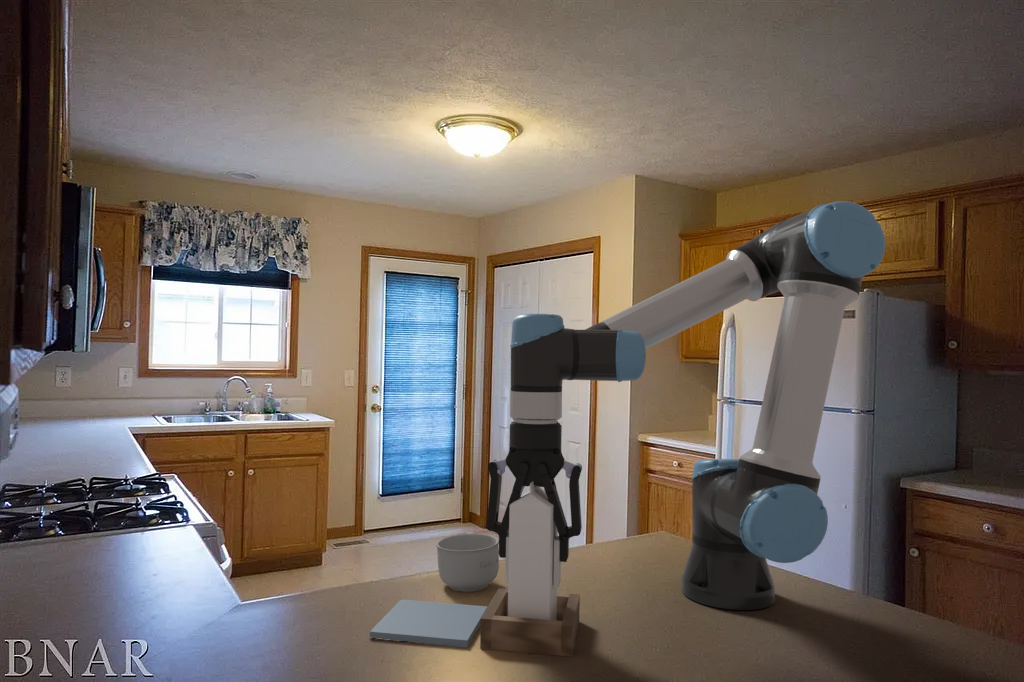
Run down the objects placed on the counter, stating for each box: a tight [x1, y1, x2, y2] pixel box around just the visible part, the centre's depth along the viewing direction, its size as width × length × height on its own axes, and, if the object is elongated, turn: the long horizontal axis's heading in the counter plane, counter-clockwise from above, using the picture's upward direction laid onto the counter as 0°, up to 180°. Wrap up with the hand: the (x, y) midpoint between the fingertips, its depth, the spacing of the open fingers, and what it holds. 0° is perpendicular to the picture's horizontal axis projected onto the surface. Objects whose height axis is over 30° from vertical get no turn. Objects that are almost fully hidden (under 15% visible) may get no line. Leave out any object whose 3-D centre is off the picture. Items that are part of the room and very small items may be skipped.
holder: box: [479, 588, 581, 658], centre depth 97 cm, size 12×12×4 cm
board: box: [369, 599, 488, 649], centre depth 100 cm, size 14×13×1 cm
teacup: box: [435, 531, 500, 593], centre depth 119 cm, size 14×11×8 cm
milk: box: [507, 481, 559, 621], centre depth 97 cm, size 6×6×22 cm
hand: (533, 581), depth 97 cm, fingers closed on milk, 6 cm apart
